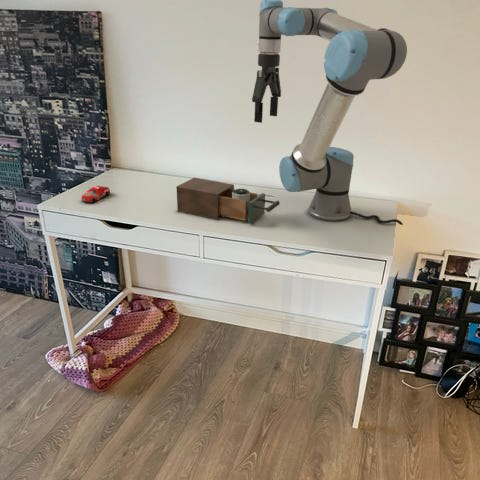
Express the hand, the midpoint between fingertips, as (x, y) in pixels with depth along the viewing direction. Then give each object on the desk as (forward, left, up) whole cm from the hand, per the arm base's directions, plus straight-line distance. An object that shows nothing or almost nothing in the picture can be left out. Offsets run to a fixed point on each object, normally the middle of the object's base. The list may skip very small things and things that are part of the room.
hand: (266, 119), depth 178 cm
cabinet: (+11, +26, -29) cm, 40 cm away
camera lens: (-3, +26, -27) cm, 37 cm away
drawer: (-5, +26, -28) cm, 38 cm away
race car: (+54, +36, -29) cm, 71 cm away
